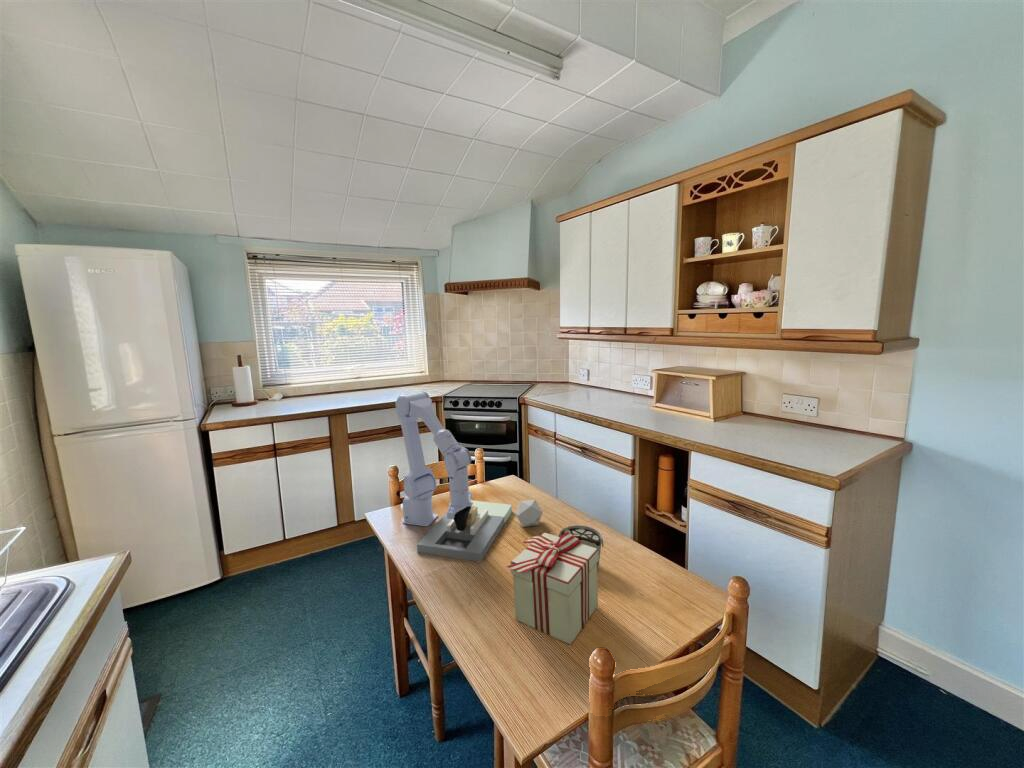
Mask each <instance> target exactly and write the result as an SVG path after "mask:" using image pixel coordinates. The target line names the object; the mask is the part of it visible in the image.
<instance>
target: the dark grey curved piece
mask: <svg viewBox="0 0 1024 768" xmlns="http://www.w3.org/2000/svg"><path fill="white" fill-rule="evenodd" d="M566 532H569V533H571V534H572V535H573V536H575V537H576V538H578V539H579V540H580V541H581V542H580V543H581V544H584V545H588V546H591V547H594V548H597V549H598V550H599V561H598V562H597V575H598V573H599V566H600V556H601V549H602V548H604V546H605V545H604V539H603V537H602V534H601V533H600V532H599V531H598V530H597V529H595V528H594V527H591V526H587V525H578V524H577V525H570V526H566V527H564V528H562V529H561V530H560V531H559V532H558V537H561V536H562V535H563V534H564V533H566Z"/></svg>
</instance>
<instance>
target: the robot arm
mask: <svg viewBox="0 0 1024 768" xmlns="http://www.w3.org/2000/svg"><path fill="white" fill-rule="evenodd" d="M394 406H395V408H396V409H395V410H396V414H397V420H399V421H400V427H401V433H402V436H403V442H404V446H405V452H406V456H407V457H406V458H407V462H408V467H409V468H408V471H407V472H406V473H405V475H404V476H403V492H404V494H405V496H404V497H403V501H402V512H403V513H402V515H403V521H402V524H406V525H413V526H420V527H429V526H430V525H431V524H432V523H433V522H434V521H435V520H436V519H437V518H438V517H439V514H438V513H434V507H433V506H434V505H433V494H434V493H435V492H434V491H435V490H436V489H437V479H436V477H435V474H434V472H433V469H432V468H431V467H428V466H426V462H425V461H426V460H425V457H424V452H423V447H422V442H421V436H420V431H419V430H420V429H419V426H418V419H421V421H423V423H424V424H425V426H426V427H427V428H428V429H429V430H430V432H431V433H432V434H433V443H434V444H435V446H436V447H437V448H438V450H439V451H440V453H441V454H442V456H443V458H444V459H443V465H444V466H445V469H446V474H447V476H448V480H449V481H448V482H449V483H448V484H449V499H450V501H449V505H448V509H447V511H446V513H447V518H448V519H454V521H455V524H456V527H457V530H459V531H464V530H465V528H466V522H467V517H468V514H469V511H470V509H471V506H472V505H473V502H471V501H470V500H472V498H473V492H472V491H469V487H470V486H469V474H468V473H469V470H468V466H470V465H471V464H472V463H471V462H472V455H471V453H470V451H469V449H468V448H466V447H464V446H463V445H461V444H459V443H458V440H456V439H455V436H454V435H453V433H452V432H451V431H450V430H449V429H445V428H444V427H443V425H442V424H441V422H440V420H439V418H438V416H437V415H436V413H435V411H434V409H433V399H431V397H430V394H429V393H428V392H427V391H424V390H421V391H420V392H414V393H409V394H404V395H403V394H402V395H399V396H398V397H397V399H396V401H395V403H394Z"/></svg>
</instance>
